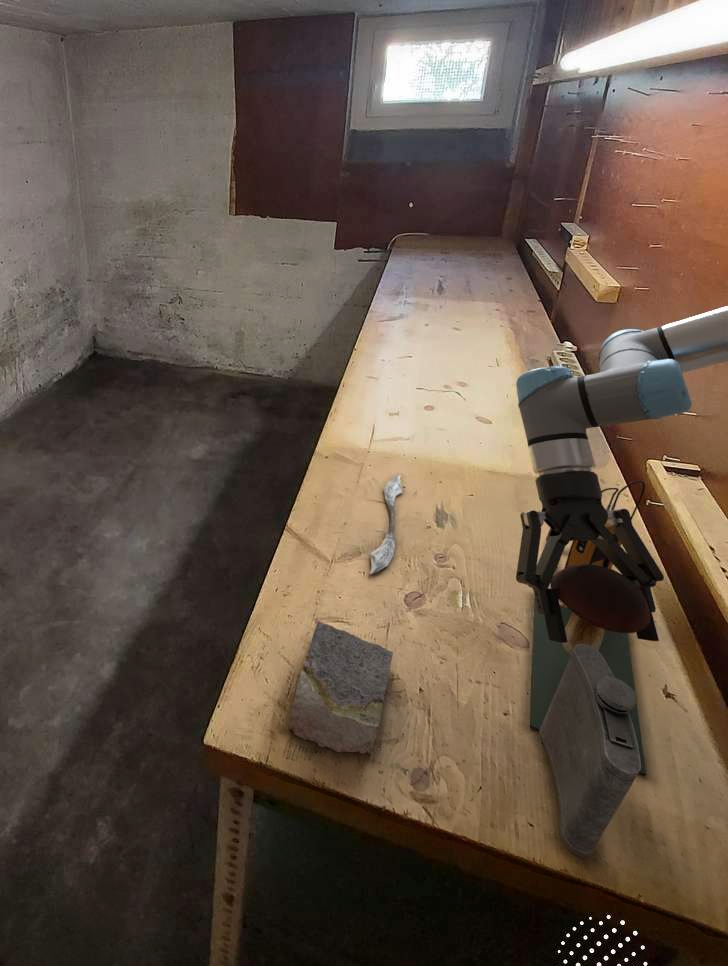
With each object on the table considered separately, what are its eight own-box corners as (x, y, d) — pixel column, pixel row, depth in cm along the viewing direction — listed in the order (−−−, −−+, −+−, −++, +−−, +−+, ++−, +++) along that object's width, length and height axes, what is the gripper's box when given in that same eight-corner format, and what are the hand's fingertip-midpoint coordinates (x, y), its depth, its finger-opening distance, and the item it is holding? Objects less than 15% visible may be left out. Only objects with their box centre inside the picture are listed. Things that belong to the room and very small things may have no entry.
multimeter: (569, 537, 102) (602, 445, 94) (623, 576, 94) (664, 478, 85) (505, 557, 98) (533, 463, 90) (555, 599, 90) (591, 499, 81)
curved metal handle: (366, 575, 96) (397, 582, 94) (367, 572, 95) (397, 579, 94) (380, 471, 122) (403, 475, 121) (380, 469, 122) (404, 473, 120)
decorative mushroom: (517, 621, 84) (542, 544, 77) (593, 621, 83) (624, 544, 77) (559, 690, 74) (591, 608, 67) (644, 690, 74) (686, 609, 67)
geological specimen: (395, 643, 78) (379, 739, 65) (387, 673, 80) (371, 771, 68) (318, 616, 82) (290, 701, 69) (313, 646, 84) (285, 733, 72)
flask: (570, 732, 71) (614, 635, 62) (604, 864, 59) (664, 766, 51) (537, 723, 72) (576, 627, 64) (564, 851, 60) (617, 754, 52)
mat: (625, 627, 85) (626, 626, 85) (645, 775, 66) (646, 774, 66) (534, 598, 90) (535, 596, 90) (529, 727, 72) (530, 725, 72)
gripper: (627, 476, 84) (670, 636, 77) (470, 479, 84) (499, 638, 77) (667, 467, 77) (718, 642, 70) (495, 470, 77) (529, 645, 70)
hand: (603, 640), depth 73 cm, fingers closed on decorative mushroom, 11 cm apart
